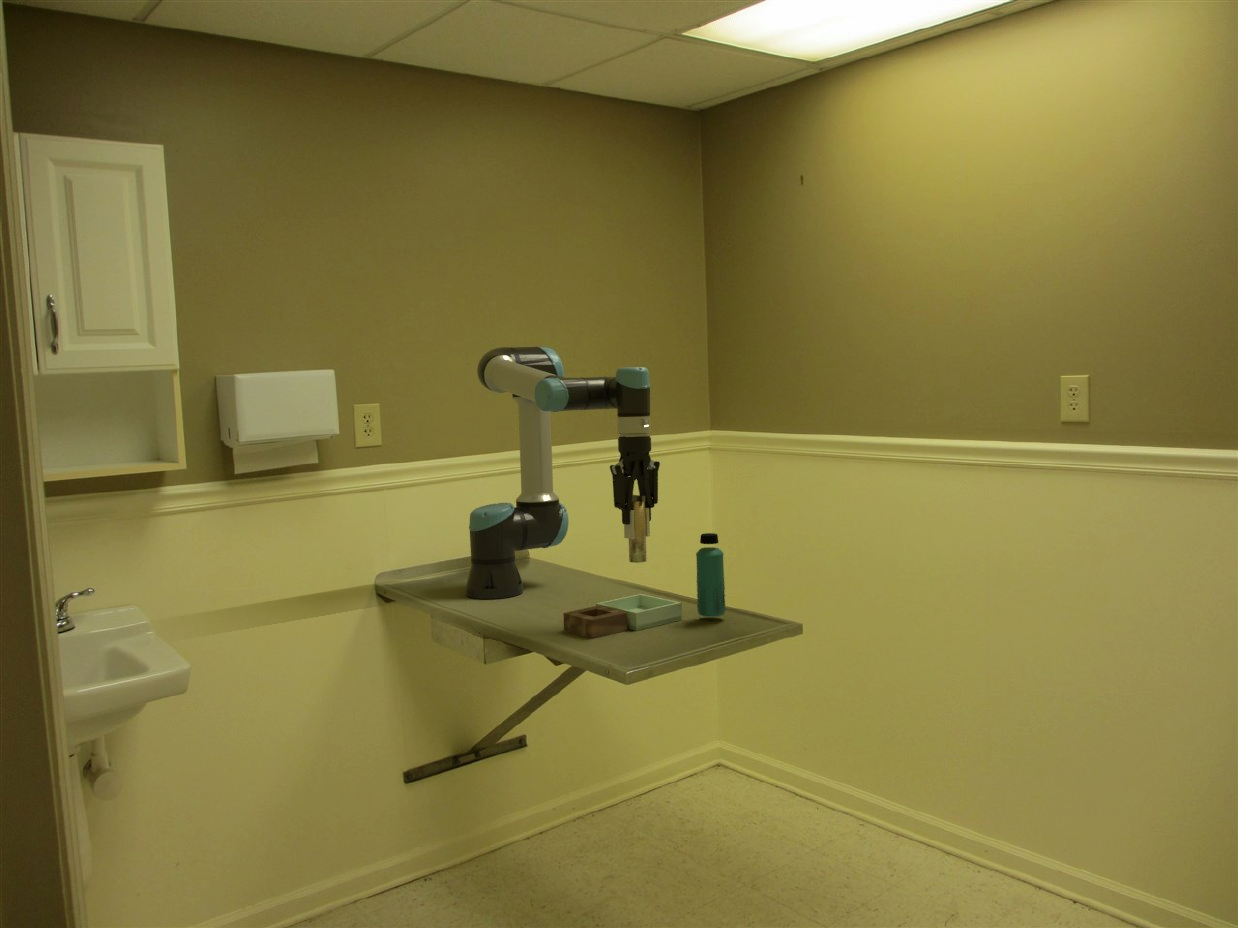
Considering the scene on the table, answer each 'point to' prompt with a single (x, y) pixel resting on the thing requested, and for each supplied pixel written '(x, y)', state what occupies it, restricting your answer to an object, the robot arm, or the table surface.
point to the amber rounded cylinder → (638, 531)
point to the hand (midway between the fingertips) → (637, 536)
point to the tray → (646, 610)
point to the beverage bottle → (710, 578)
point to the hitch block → (595, 621)
